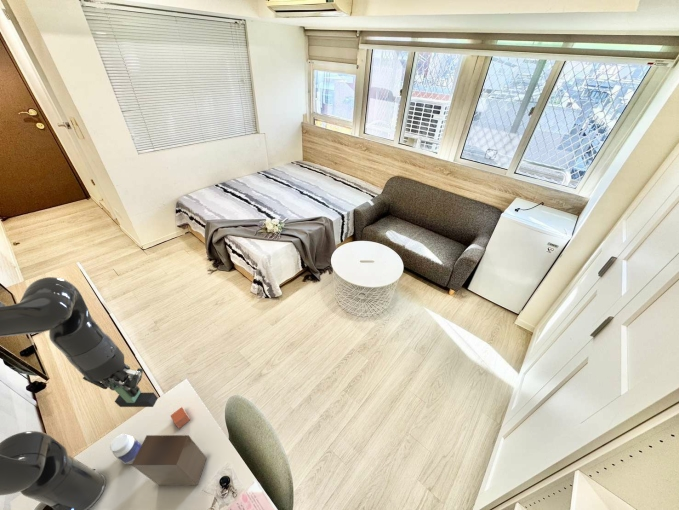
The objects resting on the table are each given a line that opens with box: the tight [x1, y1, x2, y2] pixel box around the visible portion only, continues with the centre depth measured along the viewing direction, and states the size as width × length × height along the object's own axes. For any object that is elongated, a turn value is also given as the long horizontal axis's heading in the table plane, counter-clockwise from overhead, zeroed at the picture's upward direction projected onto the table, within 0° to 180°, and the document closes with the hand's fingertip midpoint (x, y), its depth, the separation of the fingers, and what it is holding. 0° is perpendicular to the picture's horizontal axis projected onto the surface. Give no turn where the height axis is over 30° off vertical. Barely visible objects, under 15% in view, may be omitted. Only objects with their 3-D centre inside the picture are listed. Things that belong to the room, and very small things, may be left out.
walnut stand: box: [131, 434, 208, 486], centre depth 79 cm, size 12×7×18 cm, turn 90°
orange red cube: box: [170, 406, 191, 429], centre depth 95 cm, size 4×4×4 cm
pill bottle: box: [109, 433, 142, 465], centre depth 85 cm, size 6×6×10 cm
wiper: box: [113, 381, 159, 408], centre depth 70 cm, size 9×3×10 cm, turn 90°
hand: (130, 393), depth 70 cm, fingers closed on wiper, 2 cm apart
